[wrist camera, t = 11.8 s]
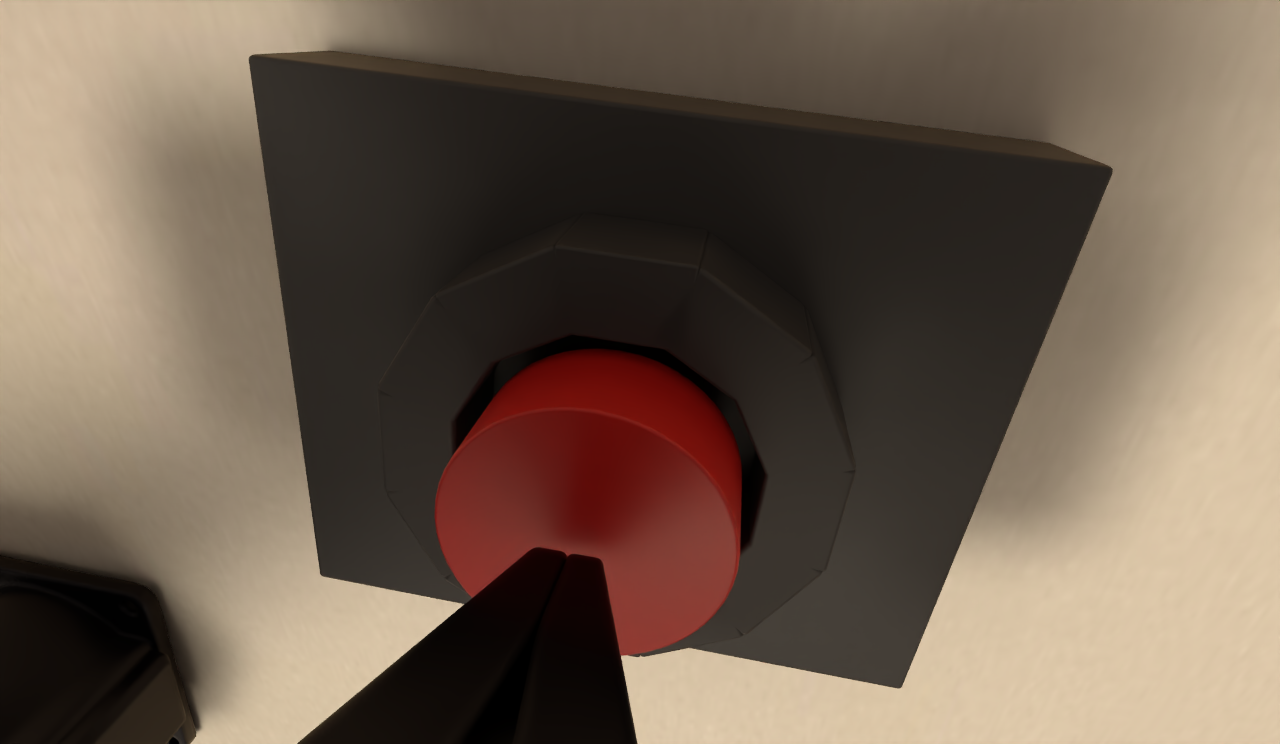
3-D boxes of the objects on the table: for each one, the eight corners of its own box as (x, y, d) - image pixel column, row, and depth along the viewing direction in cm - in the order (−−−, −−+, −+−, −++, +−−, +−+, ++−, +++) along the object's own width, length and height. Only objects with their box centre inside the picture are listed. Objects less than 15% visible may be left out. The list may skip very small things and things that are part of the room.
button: (479, 546, 11) (437, 627, 10) (480, 326, 10) (428, 383, 8) (718, 590, 11) (713, 681, 10) (765, 372, 9) (768, 440, 8)
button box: (371, 512, 16) (265, 645, 13) (329, 50, 12) (147, 58, 8) (883, 607, 15) (921, 779, 12) (1051, 143, 11) (1197, 197, 7)
